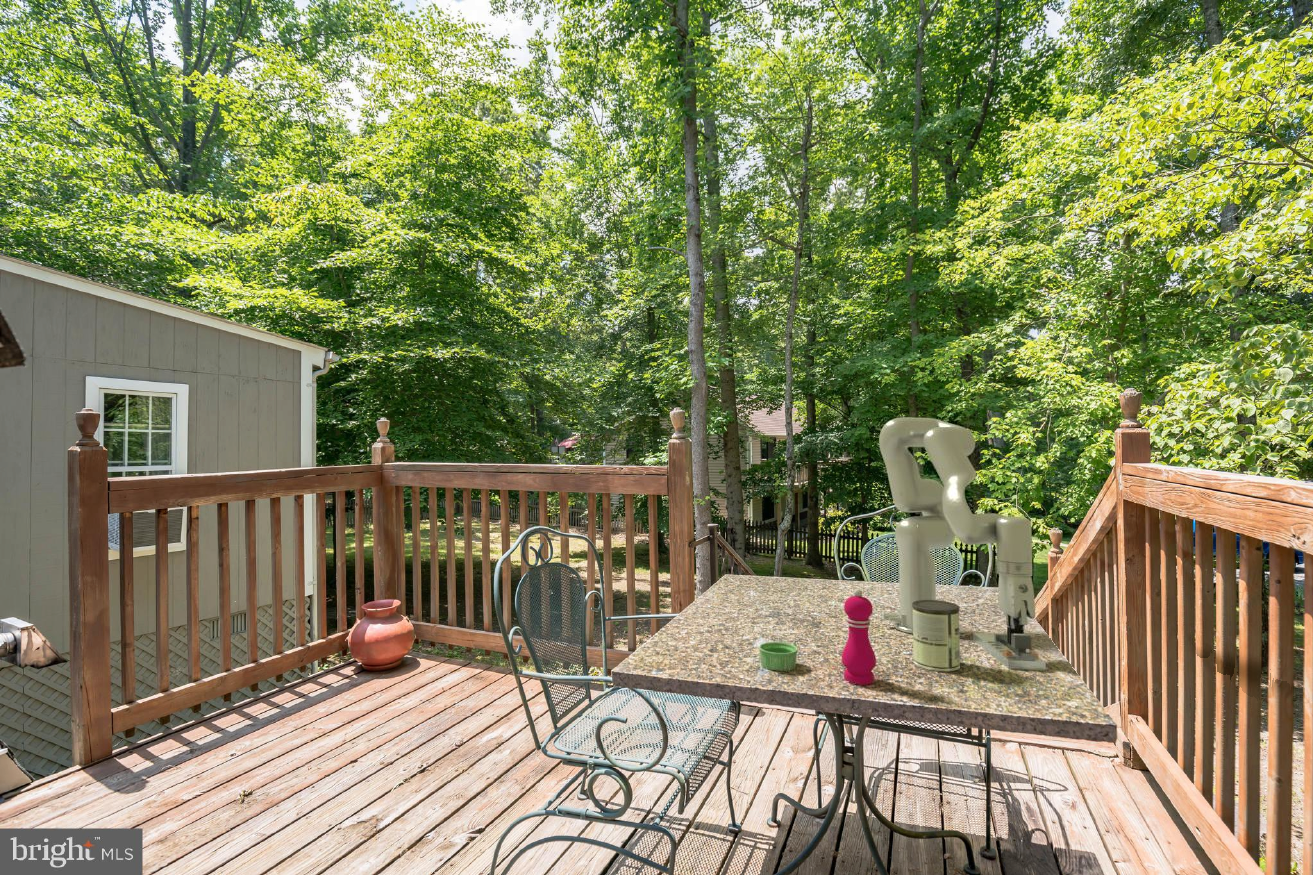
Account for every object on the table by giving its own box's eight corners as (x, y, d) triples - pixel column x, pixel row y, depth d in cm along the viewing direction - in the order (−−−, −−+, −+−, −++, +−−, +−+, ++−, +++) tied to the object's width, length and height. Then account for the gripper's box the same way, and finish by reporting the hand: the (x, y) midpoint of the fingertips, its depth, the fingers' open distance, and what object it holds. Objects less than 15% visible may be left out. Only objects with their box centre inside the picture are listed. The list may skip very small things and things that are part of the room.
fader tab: (1015, 655, 153) (1014, 635, 153) (1011, 652, 155) (1011, 632, 155) (1031, 655, 152) (1031, 635, 152) (1027, 653, 154) (1027, 633, 154)
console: (1008, 668, 150) (1008, 653, 150) (972, 640, 173) (972, 626, 173) (1045, 670, 149) (1045, 654, 149) (1004, 641, 172) (1004, 627, 172)
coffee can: (911, 655, 160) (911, 598, 160) (957, 660, 156) (957, 601, 157) (913, 669, 150) (913, 607, 150) (962, 674, 147) (962, 611, 147)
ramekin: (775, 675, 147) (774, 655, 147) (751, 663, 155) (751, 645, 155) (805, 668, 151) (805, 649, 151) (781, 657, 159) (781, 639, 159)
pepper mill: (837, 675, 146) (836, 586, 147) (868, 674, 147) (867, 585, 147) (849, 686, 139) (848, 593, 139) (881, 685, 140) (880, 592, 140)
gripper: (1045, 574, 149) (1046, 654, 149) (1017, 563, 164) (1018, 636, 164) (1010, 573, 150) (1012, 653, 150) (986, 562, 165) (987, 635, 165)
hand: (1015, 644), depth 157 cm, fingers closed
